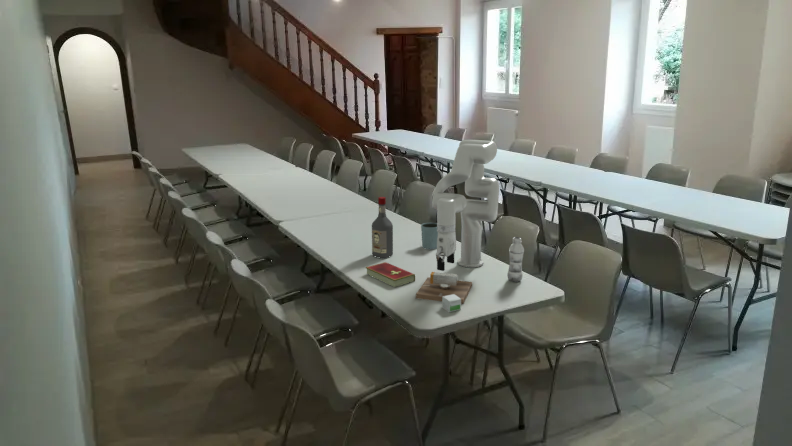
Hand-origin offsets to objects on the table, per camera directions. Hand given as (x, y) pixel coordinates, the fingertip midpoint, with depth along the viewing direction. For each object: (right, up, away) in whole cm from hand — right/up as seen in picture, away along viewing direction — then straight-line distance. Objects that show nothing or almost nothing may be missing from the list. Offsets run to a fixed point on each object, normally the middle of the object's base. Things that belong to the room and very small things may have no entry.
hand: (445, 266), depth 247 cm
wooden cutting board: (0, -11, +3) cm, 11 cm away
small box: (+1, -16, -14) cm, 21 cm away
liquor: (-28, +2, +49) cm, 57 cm away
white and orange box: (-1, -9, +2) cm, 9 cm away
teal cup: (-3, +6, +63) cm, 63 cm away
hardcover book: (-24, -7, +19) cm, 31 cm away
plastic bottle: (+32, -8, +15) cm, 36 cm away
